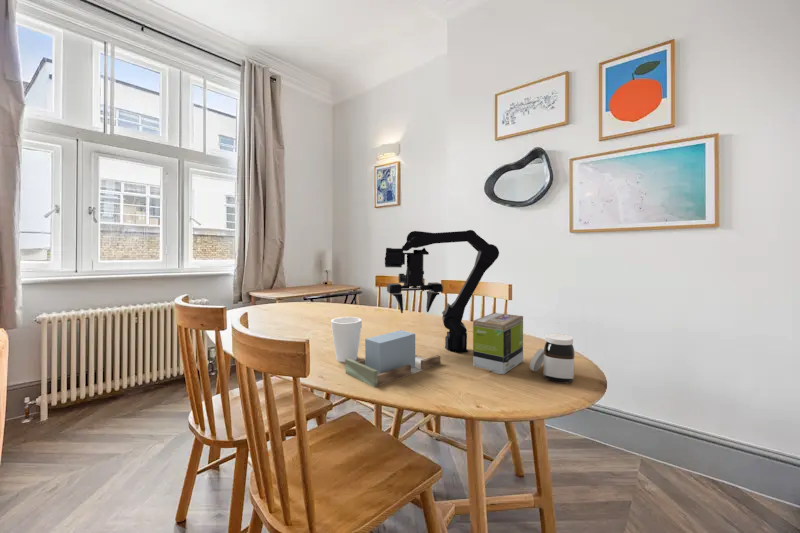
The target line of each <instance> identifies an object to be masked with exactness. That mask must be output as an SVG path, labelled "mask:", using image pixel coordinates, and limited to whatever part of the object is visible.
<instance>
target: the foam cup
mask: <svg viewBox="0 0 800 533" xmlns="http://www.w3.org/2000/svg"><path fill="white" fill-rule="evenodd" d="M362 320H363V319H361V318H360V317H356V316H340V317H335V318H333V319H331V320H330V328H331V330H332V331H331V332H332V338H333V345H334V346H333V347H334V350H335V351H334V352H335V359H336V361H337V362H339V363H346V359H348V358H349V359H351V360H354V361H357V359H358V355H359V347H360V339H361V338H360V337H361V332H362V331H361V330H362V326H363V323H362V322H363V321H362Z"/></svg>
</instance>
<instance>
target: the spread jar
mask: <svg viewBox="0 0 800 533" xmlns="http://www.w3.org/2000/svg"><path fill="white" fill-rule="evenodd" d="M545 341H546V342H545V343H544V347H543V348H539V349H538V350H536V352H535V353H534V354H533V356H532V358H531V360H530V362H529V369H530V370H531V371H533V372H537V371H538V370H539V369H540V368H541V367H542V365H543V367H542V368H543V370H542V372H543V377H544V378H545V379H546V380H548V381H550V382H553V383H557V384H558V383H559V384H567V383H571V382H573V381H574V376H575V357H576V356H575V348H574V337H573V336H571V335H567V334H562V333H549V334H546V335H545Z"/></svg>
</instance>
